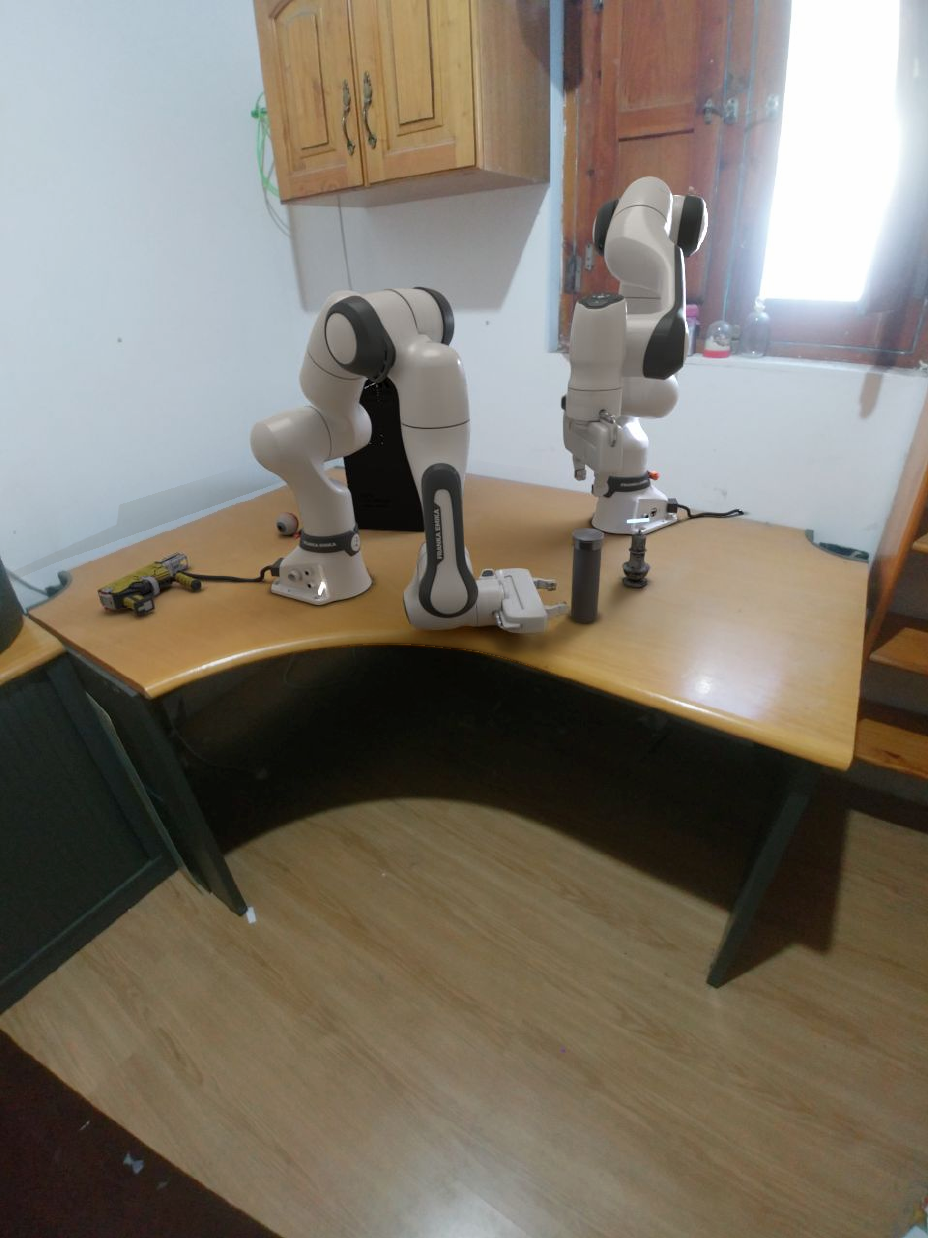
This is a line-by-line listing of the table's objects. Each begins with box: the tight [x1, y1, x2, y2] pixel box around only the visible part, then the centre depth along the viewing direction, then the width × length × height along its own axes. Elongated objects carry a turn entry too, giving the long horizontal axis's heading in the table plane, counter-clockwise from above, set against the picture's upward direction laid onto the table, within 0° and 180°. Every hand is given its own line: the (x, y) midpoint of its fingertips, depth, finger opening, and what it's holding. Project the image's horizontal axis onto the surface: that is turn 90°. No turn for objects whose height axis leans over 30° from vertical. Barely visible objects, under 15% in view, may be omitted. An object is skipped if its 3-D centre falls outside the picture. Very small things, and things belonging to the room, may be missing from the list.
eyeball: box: [275, 511, 300, 536], centre depth 163 cm, size 6×6×6 cm
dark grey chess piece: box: [621, 529, 651, 588], centre depth 127 cm, size 6×6×12 cm
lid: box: [571, 528, 605, 551], centre depth 110 cm, size 6×6×2 cm
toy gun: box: [97, 551, 203, 617], centre depth 137 cm, size 5×24×15 cm
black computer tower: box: [342, 377, 425, 532], centre depth 169 cm, size 38×20×45 cm, turn 167°
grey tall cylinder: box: [570, 546, 603, 624], centre depth 114 cm, size 5×5×17 cm
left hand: (561, 595), depth 115 cm, fingers open, 8 cm apart
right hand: (588, 487), depth 106 cm, fingers open, 8 cm apart
